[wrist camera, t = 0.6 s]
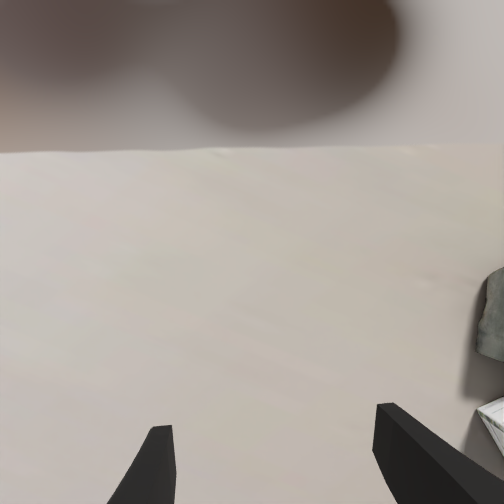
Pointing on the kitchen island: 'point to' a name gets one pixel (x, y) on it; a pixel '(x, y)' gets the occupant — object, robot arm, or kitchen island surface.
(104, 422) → the kitchen island surface
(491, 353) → the stone block
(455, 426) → the kitchen island surface
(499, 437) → the syrup box
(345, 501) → the kitchen island surface
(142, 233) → the kitchen island surface
